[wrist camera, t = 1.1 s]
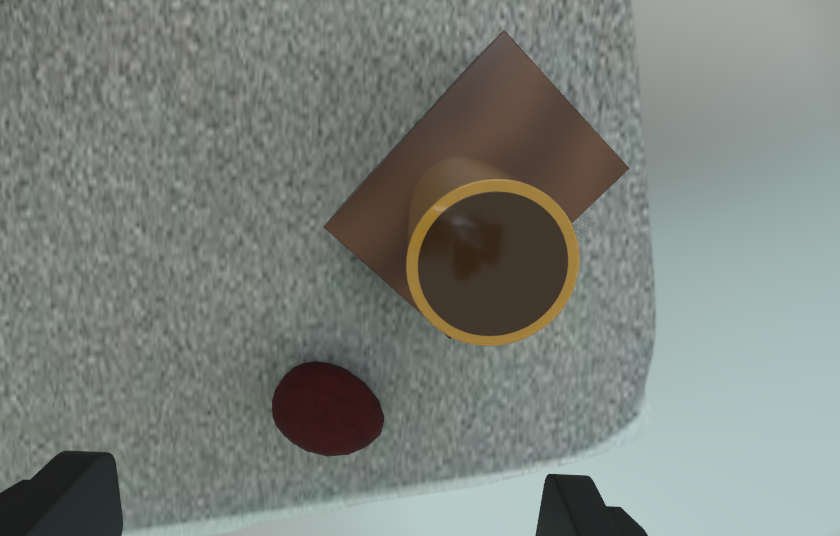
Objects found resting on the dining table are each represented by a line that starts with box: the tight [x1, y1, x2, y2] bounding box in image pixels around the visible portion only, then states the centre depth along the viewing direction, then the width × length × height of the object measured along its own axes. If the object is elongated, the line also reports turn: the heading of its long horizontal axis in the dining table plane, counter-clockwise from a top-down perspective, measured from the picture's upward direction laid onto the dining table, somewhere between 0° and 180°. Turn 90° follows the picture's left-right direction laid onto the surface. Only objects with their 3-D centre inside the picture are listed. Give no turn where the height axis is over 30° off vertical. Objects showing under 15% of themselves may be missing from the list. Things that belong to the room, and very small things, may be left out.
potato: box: [272, 362, 384, 456], centre depth 39 cm, size 8×9×6 cm
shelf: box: [324, 31, 629, 339], centre depth 32 cm, size 10×14×10 cm
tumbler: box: [406, 156, 579, 346], centre depth 22 cm, size 6×6×11 cm
